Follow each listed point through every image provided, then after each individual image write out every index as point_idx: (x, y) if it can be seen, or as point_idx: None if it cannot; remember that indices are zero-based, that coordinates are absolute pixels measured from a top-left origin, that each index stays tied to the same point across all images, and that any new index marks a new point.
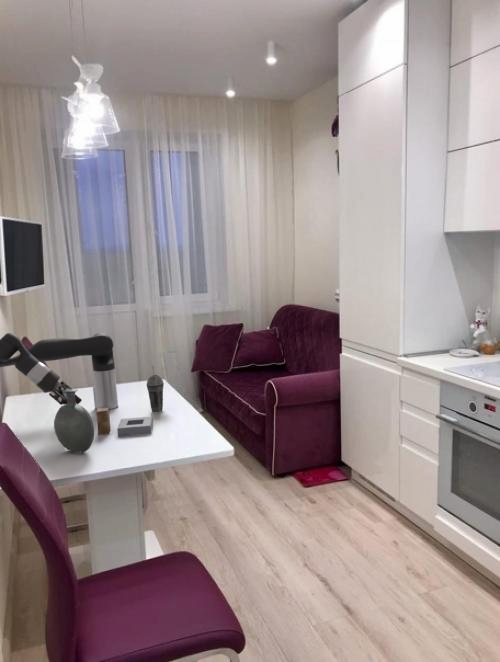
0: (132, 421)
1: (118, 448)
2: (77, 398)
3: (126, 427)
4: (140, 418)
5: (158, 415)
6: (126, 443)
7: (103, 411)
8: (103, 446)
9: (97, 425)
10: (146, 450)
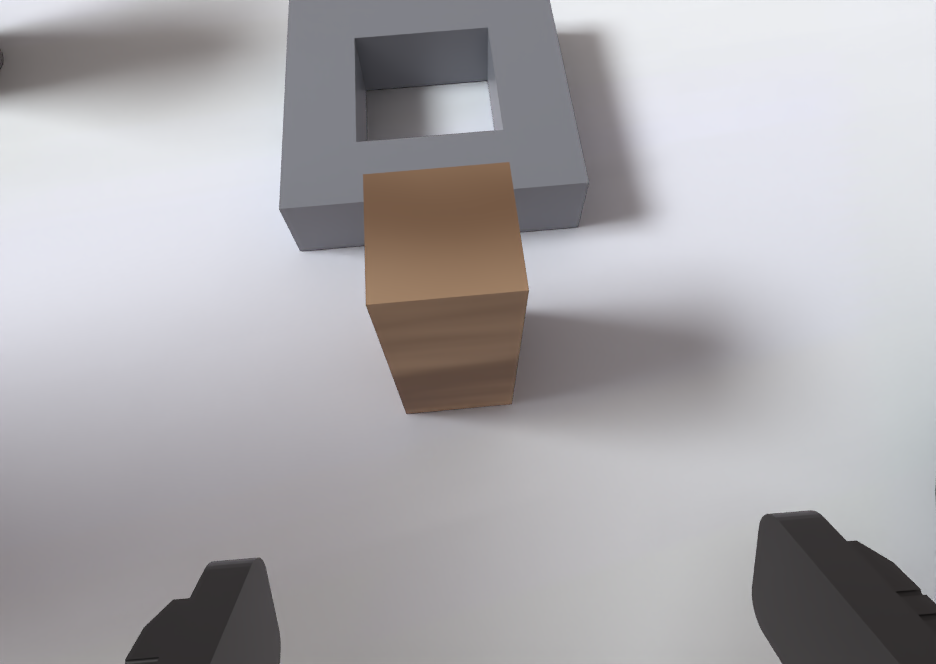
0: (356, 121)
1: (864, 169)
2: (233, 659)
3: (572, 117)
4: (323, 63)
5: (93, 47)
6: (751, 139)
7: (514, 206)
8: (829, 283)
9: (515, 368)
10: (882, 12)
